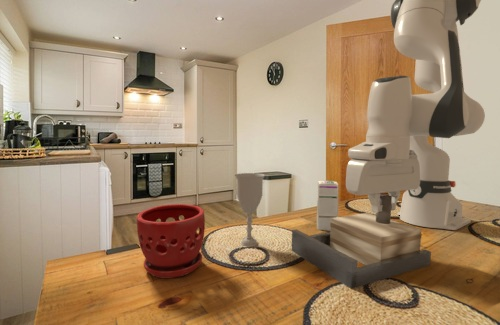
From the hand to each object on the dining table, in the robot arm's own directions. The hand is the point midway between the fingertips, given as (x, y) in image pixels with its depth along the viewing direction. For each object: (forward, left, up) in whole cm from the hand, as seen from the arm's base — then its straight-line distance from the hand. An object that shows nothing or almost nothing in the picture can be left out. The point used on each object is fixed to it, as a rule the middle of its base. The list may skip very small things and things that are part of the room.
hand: (383, 211), depth 64 cm
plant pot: (+45, -14, -11) cm, 48 cm away
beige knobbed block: (+3, 0, -10) cm, 10 cm away
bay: (+8, 0, -11) cm, 13 cm away
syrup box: (0, -19, -11) cm, 22 cm away
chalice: (+26, -17, -11) cm, 33 cm away
